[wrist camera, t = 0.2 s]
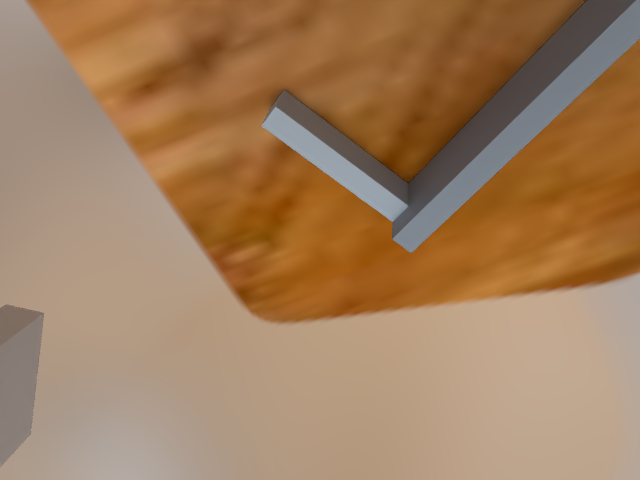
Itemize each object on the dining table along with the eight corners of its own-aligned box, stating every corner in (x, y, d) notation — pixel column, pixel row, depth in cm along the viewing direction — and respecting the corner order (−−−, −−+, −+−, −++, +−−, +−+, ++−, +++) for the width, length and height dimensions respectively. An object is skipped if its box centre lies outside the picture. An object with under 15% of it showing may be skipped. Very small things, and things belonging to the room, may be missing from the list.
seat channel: (270, 107, 38) (254, 139, 34) (526, -237, 27) (548, -253, 23) (410, 211, 41) (411, 252, 36) (690, -66, 30) (735, -53, 26)
